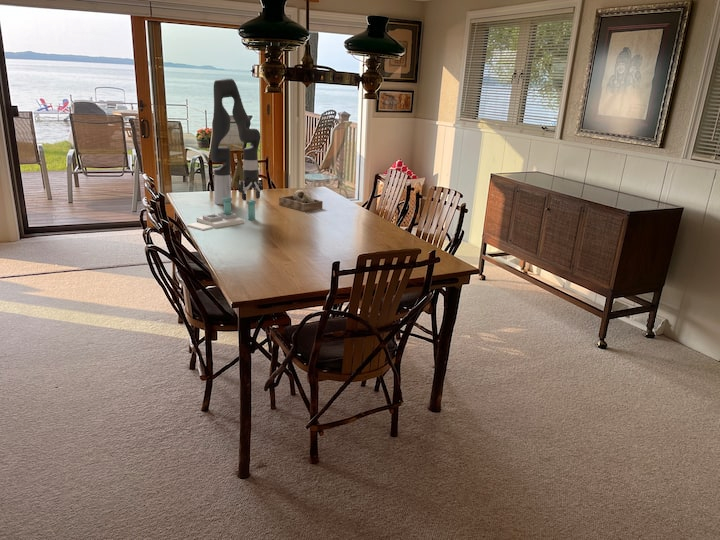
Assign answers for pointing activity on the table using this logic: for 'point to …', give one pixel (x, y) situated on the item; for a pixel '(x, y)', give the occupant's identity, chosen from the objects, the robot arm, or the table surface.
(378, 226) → the table surface
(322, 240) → the table surface
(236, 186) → the pyramid
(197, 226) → the lid
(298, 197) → the animal skull replica
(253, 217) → the teal round-knobbed peg
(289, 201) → the brown wooden tray
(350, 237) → the table surface
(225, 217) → the housing
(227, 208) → the teal flared handle
